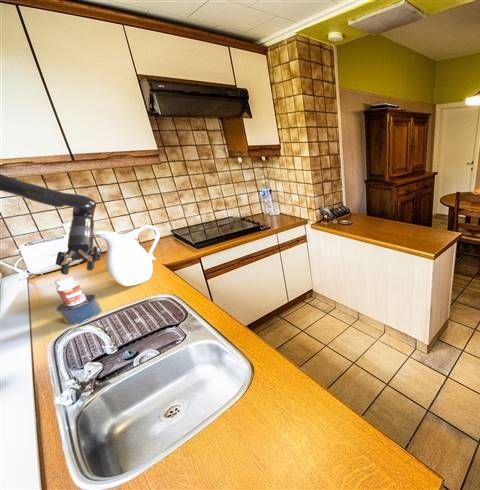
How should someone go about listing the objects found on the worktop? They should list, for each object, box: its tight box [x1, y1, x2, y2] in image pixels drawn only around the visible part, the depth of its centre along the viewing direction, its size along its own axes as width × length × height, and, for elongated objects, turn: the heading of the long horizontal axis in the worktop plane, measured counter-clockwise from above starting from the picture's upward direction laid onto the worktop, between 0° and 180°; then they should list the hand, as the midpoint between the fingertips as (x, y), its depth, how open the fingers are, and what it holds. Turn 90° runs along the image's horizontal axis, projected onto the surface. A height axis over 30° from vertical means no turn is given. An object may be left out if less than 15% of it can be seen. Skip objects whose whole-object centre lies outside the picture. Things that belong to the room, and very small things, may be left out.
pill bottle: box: [54, 275, 86, 306], centre depth 107 cm, size 6×6×11 cm
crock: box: [55, 293, 103, 325], centre depth 111 cm, size 12×12×7 cm
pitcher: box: [94, 224, 161, 287], centre depth 134 cm, size 24×17×28 cm
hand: (77, 272), depth 113 cm, fingers open, 8 cm apart
